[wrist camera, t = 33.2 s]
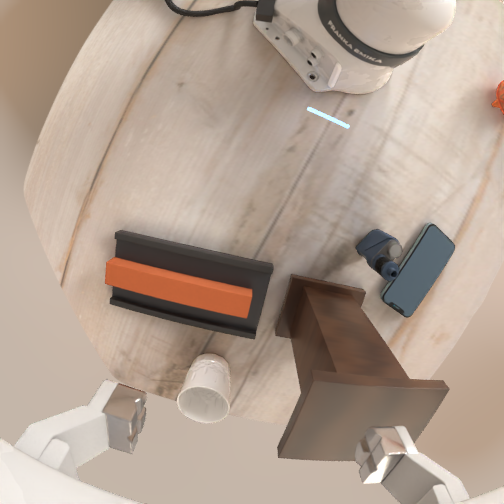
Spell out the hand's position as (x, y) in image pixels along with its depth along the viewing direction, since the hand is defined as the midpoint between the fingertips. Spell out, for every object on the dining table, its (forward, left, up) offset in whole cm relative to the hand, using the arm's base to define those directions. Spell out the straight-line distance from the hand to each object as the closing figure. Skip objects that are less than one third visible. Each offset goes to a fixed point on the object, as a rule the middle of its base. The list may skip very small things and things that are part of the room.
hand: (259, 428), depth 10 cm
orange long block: (-3, -14, -36) cm, 39 cm away
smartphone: (+24, +13, -37) cm, 46 cm away
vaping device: (+14, +10, -37) cm, 41 cm away
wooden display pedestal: (+16, -3, -37) cm, 41 cm away
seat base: (-2, -13, -37) cm, 40 cm away
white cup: (+10, -23, -37) cm, 45 cm away
